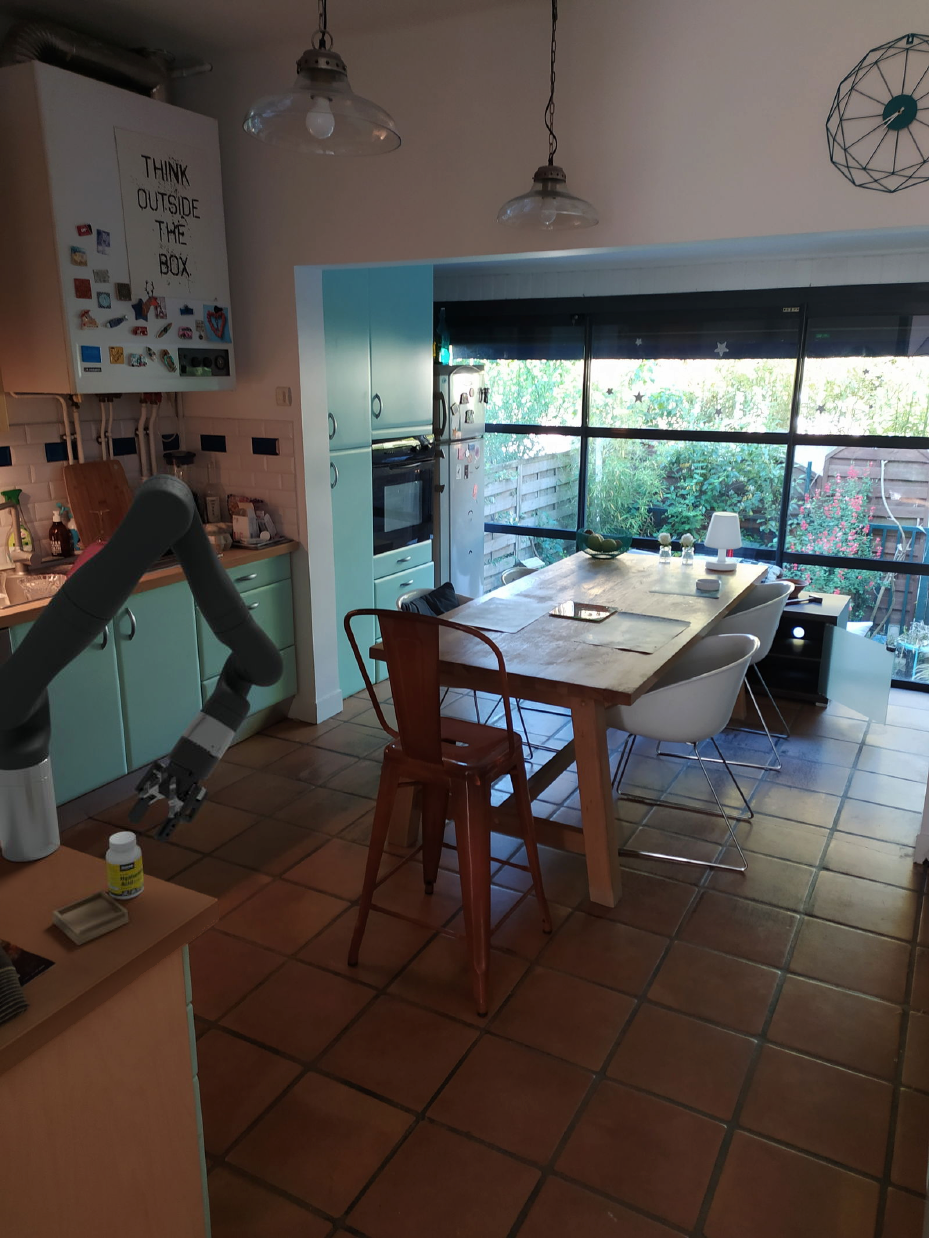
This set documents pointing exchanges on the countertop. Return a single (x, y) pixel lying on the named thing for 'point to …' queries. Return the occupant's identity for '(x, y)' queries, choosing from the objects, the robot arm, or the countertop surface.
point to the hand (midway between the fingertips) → (145, 830)
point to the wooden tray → (90, 917)
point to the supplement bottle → (124, 866)
